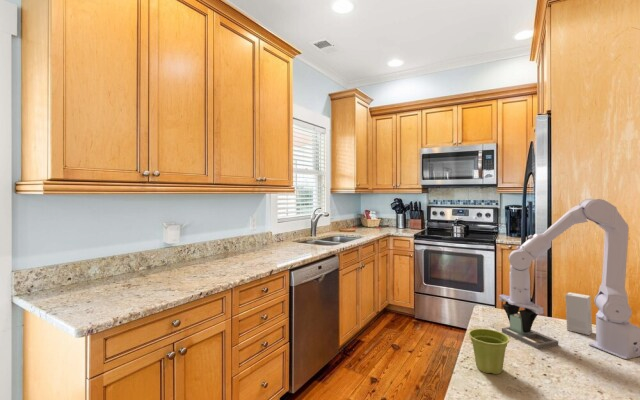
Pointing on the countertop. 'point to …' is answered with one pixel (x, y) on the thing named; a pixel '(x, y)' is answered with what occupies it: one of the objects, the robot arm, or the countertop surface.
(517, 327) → the plug
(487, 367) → the plant pot
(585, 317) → the skincare box
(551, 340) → the dock
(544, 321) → the countertop surface
